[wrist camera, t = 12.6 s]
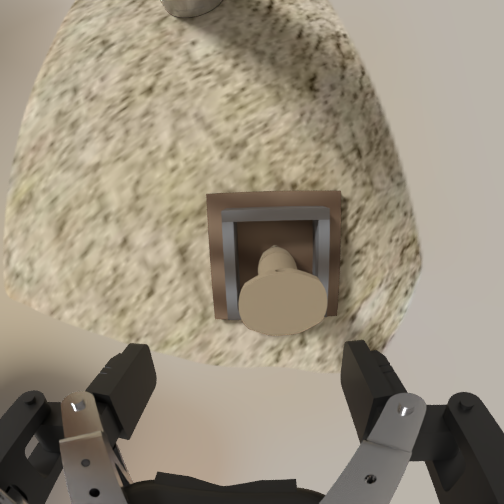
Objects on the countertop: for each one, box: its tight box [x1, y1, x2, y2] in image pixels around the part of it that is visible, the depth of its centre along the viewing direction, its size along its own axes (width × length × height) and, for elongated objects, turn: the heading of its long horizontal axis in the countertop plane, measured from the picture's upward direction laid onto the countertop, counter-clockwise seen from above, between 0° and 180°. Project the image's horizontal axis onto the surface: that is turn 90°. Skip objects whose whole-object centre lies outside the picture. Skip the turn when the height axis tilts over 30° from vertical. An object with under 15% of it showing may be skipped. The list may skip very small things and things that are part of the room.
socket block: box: [206, 191, 341, 320], centre depth 34 cm, size 16×16×6 cm
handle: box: [238, 245, 327, 336], centre depth 28 cm, size 5×6×15 cm
